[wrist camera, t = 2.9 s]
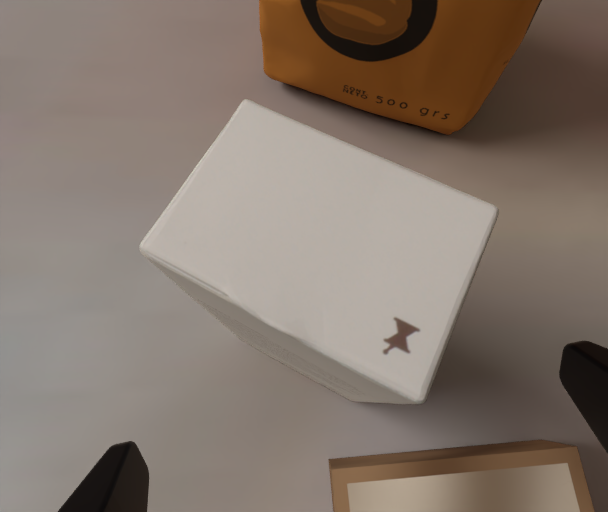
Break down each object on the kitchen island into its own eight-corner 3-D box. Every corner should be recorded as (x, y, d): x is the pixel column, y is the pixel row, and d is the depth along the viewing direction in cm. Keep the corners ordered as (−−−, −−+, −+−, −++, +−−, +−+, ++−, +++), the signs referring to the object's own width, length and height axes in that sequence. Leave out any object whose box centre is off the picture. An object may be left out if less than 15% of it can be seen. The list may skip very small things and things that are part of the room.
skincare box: (394, 317, 19) (515, 207, 8) (353, 403, 18) (429, 419, 7) (279, 259, 20) (242, 87, 9) (234, 337, 19) (125, 254, 8)
